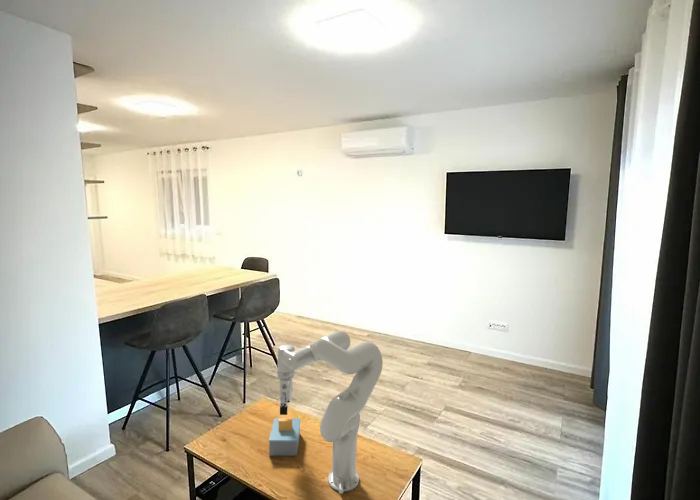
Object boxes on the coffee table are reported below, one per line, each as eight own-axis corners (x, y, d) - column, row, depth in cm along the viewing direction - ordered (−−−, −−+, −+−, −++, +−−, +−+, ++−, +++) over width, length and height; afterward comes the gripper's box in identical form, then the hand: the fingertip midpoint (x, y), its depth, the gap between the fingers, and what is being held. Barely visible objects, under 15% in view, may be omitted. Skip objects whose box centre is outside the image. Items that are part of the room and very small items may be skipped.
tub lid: (297, 444, 165) (297, 430, 164) (268, 444, 165) (268, 430, 164) (300, 422, 181) (300, 409, 180) (274, 422, 181) (274, 409, 180)
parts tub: (296, 456, 166) (297, 441, 165) (269, 456, 166) (269, 441, 165) (299, 433, 182) (300, 420, 181) (274, 433, 181) (274, 420, 180)
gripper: (292, 382, 161) (291, 419, 163) (296, 364, 178) (295, 398, 180) (274, 382, 160) (273, 419, 163) (280, 363, 177) (279, 397, 180)
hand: (284, 408), depth 172 cm, fingers open, 9 cm apart
